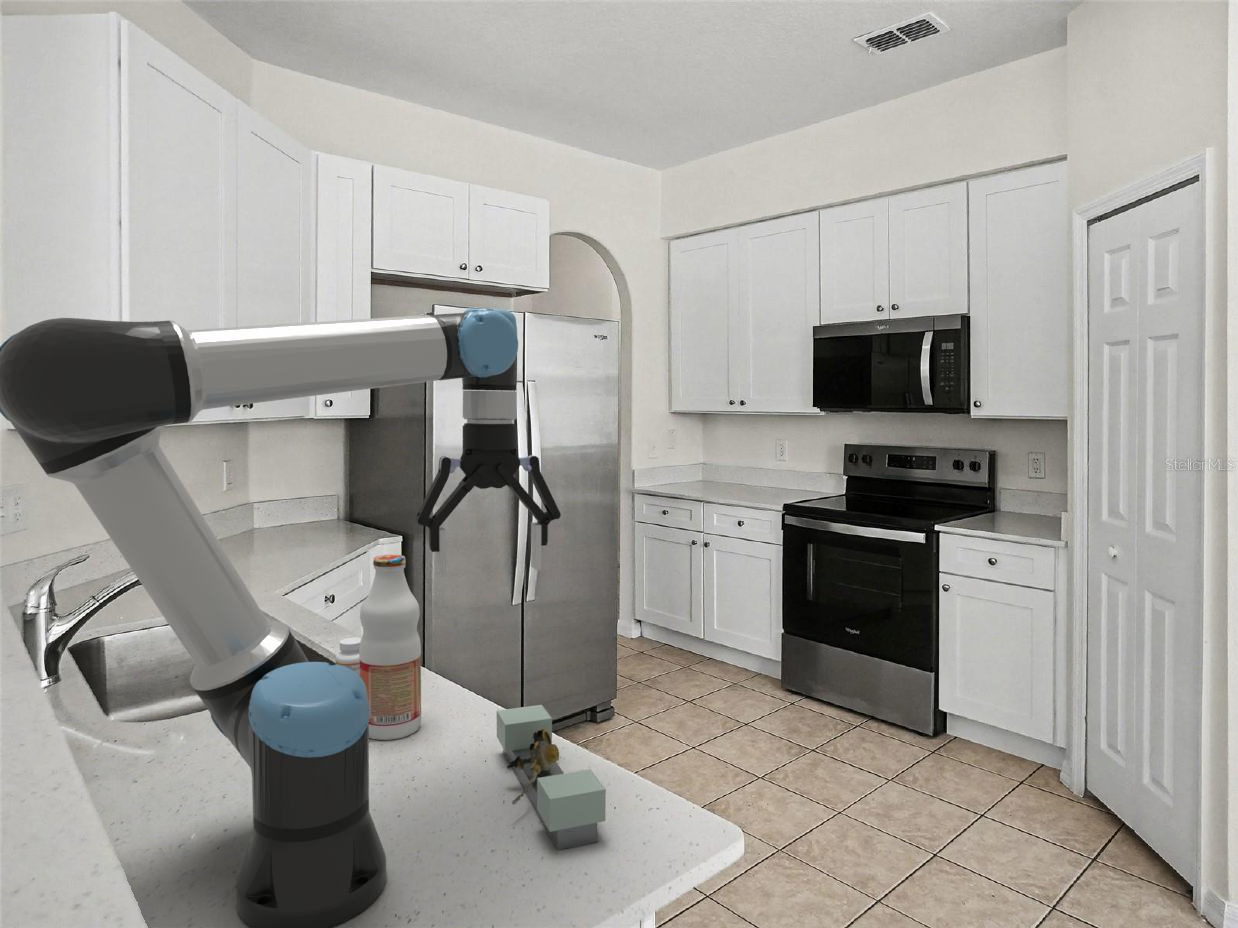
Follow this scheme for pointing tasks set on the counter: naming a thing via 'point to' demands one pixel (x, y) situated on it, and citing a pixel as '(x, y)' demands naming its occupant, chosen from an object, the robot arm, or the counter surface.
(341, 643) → the supplement bottle
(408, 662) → the fruit juice
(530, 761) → the regulator
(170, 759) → the counter surface
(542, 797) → the mounted modules
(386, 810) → the counter surface
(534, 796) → the rail
